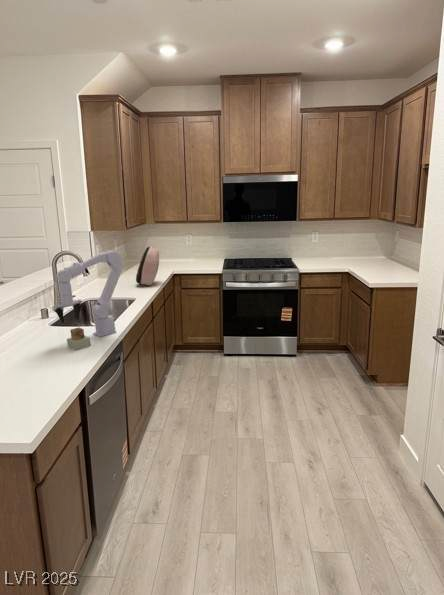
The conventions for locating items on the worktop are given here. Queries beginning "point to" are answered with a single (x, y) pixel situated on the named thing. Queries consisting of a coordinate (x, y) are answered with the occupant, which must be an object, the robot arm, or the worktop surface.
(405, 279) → the worktop surface
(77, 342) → the sage base block
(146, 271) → the pink rounded shell
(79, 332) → the walnut cube
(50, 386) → the worktop surface
